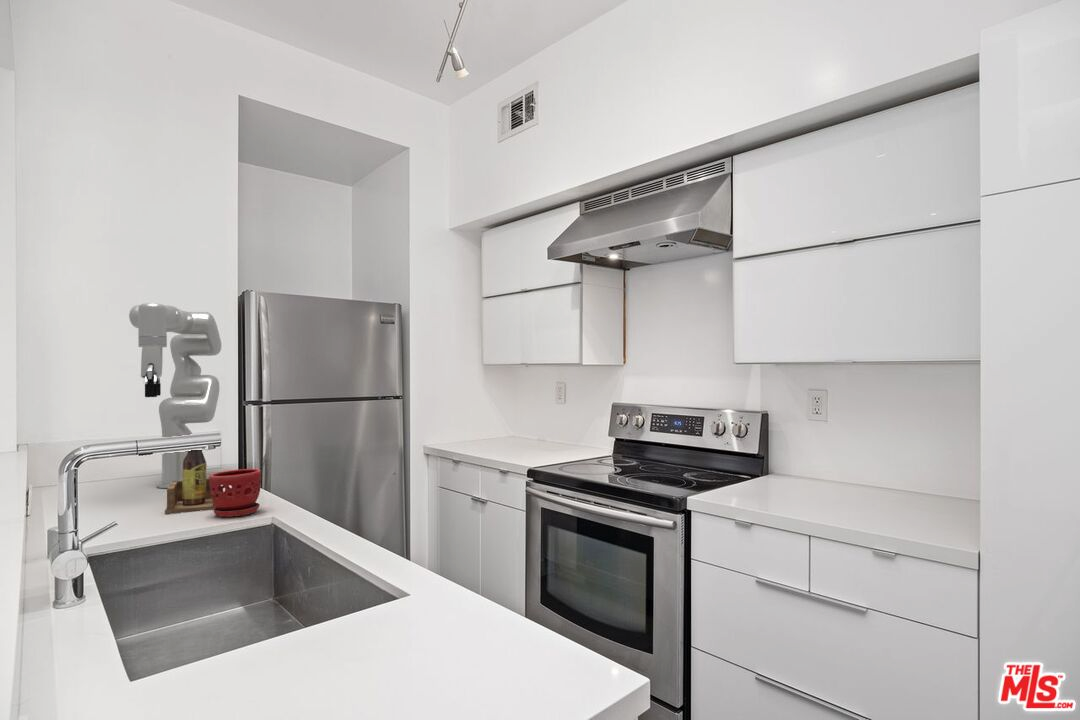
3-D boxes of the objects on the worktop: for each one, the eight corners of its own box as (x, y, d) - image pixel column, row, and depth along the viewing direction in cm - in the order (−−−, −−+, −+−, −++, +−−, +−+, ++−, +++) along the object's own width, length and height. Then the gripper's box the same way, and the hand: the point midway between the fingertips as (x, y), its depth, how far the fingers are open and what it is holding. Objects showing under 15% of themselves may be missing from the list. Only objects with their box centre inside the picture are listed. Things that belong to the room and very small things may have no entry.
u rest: (170, 504, 179) (170, 481, 179) (222, 499, 185) (222, 477, 186) (164, 514, 167) (164, 489, 167) (220, 508, 173) (220, 484, 173)
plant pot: (265, 506, 175) (264, 466, 175) (255, 517, 162) (255, 474, 162) (216, 510, 171) (216, 469, 172) (203, 521, 159) (203, 476, 159)
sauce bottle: (198, 505, 172) (197, 438, 173) (177, 506, 172) (177, 438, 173) (211, 500, 179) (210, 436, 179) (190, 501, 179) (190, 436, 179)
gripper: (142, 343, 192) (142, 395, 191) (134, 341, 176) (134, 398, 176) (169, 343, 195) (169, 394, 195) (164, 341, 180) (164, 397, 180)
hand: (152, 396), depth 186 cm, fingers open, 9 cm apart
